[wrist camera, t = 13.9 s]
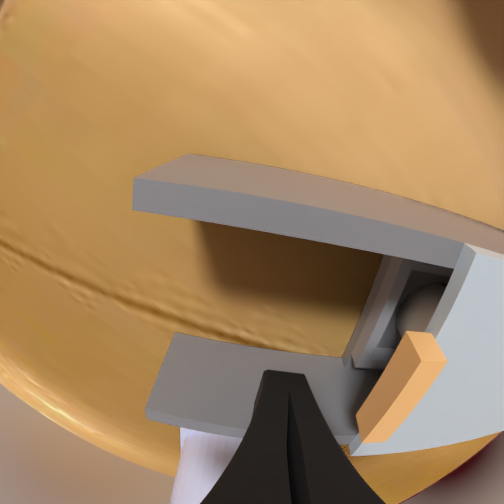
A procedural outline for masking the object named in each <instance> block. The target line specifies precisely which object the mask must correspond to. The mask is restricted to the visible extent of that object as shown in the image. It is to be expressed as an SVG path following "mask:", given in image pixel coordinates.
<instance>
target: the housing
mask: <svg viewBox="0 0 504 504" xmlns="http://www.w3.org/2000/svg"><path fill="white" fill-rule="evenodd" d="M132 210H136V211H143V212H149V213H156V214H162V215H168V216H174V217H181V218H187V219H193V220H199V221H205V222H211V223H217V224H223V225H229V226H235V227H240V228H246V229H252V230H258V231H263V232H269V233H275V234H280V235H286V236H291V237H297V238H302V239H307V240H313V241H318V242H324V243H329V244H334V245H339V246H345V247H350V248H355V249H360V250H365V251H370V252H375V253H380V254H384V255H383V258H382V261H381V264H380V267H379V269H378V272H377V275H376V278H375V280H374V283H373V285H372V288H371V291H370V293H369V296H368V298H367V301H366V303H365V306H364V308H363V311H362V313H361V316H360V318H359V320H358V323H357V325H356V327H355V330H354V332H353V334H352V336H351V339H350V341H349V343H348V345H347V348H346V350H345V352H344V354H343V356H342V358H339V357H329V356H319V355H310V354H301V353H293V352H285V351H278V350H271V349H264V348H257V347H251V346H245V345H239V344H233V343H227V342H221V341H216V340H211V339H205V338H200V337H195V336H190V335H186V334H181V333H176V332H175V334H174V336H173V339H172V341H171V344H170V346H169V348H168V351H167V353H166V356H165V358H164V361H163V363H162V366H161V368H160V371H159V374H158V376H157V379H156V381H155V384H154V386H153V389H152V391H151V394H150V397H149V399H148V402H147V405H146V407H145V412H146V417H147V419H149V420H153V421H157V422H161V423H165V424H169V425H173V426H177V427H182V428H186V429H191V430H196V431H201V432H206V433H212V434H217V435H223V436H230V437H236V438H243V437H244V435H245V433H246V431H247V429H248V427H249V424H250V422H251V419H252V414H253V408H254V402H255V399H256V395H257V392H258V389H259V385H260V382H261V379H262V375H263V372H264V371H265V370H268V369H269V370H276V371H284V372H292V373H301V374H304V375H305V376H306V378H307V381H308V383H309V386H310V388H311V391H312V393H313V395H314V398H315V400H316V402H317V404H318V406H319V409H320V411H321V413H322V415H323V417H324V419H325V420H326V422H327V424H328V426H329V428H330V430H331V432H332V434H333V435H334V437H335V439H336V441H337V442H338V444H339V445H349V444H350V443H351V441H352V440H353V439H354V438H355V436H356V435H357V434H358V433H359V428H358V423H357V419H356V414H357V412H358V411H359V409H360V408H361V406H362V405H363V403H364V402H365V400H366V399H367V397H368V396H369V394H370V393H371V391H372V389H373V388H374V386H375V385H376V383H377V381H378V380H379V378H380V377H381V375H382V373H383V372H384V370H385V368H386V366H387V365H388V363H389V361H390V359H391V358H392V356H393V354H394V352H395V351H396V349H397V347H398V345H399V343H400V341H401V339H402V337H401V335H400V333H399V331H398V329H397V326H396V314H397V311H398V308H399V306H400V304H401V303H402V301H403V300H404V299H405V298H406V297H407V295H408V294H410V293H411V292H412V291H413V290H415V289H416V288H418V287H420V286H422V285H424V284H427V283H440V284H443V285H445V286H446V287H447V285H448V282H449V280H450V278H451V276H452V273H453V271H454V268H455V266H456V264H457V261H458V259H459V256H460V253H461V251H462V248H463V246H464V243H466V244H470V245H473V246H477V247H480V248H483V249H487V250H490V251H493V252H497V253H500V254H503V255H504V230H501V229H499V228H496V227H493V226H491V225H488V224H485V223H482V222H480V221H477V220H474V219H471V218H468V217H465V216H462V215H460V214H457V213H454V212H450V211H447V210H444V209H441V208H438V207H435V206H432V205H428V204H425V203H422V202H419V201H415V200H412V199H408V198H405V197H401V196H398V195H394V194H391V193H387V192H383V191H379V190H376V189H372V188H368V187H364V186H360V185H356V184H352V183H348V182H343V181H339V180H335V179H330V178H326V177H321V176H317V175H312V174H307V173H302V172H298V171H293V170H287V169H282V168H277V167H271V166H266V165H260V164H254V163H248V162H242V161H236V160H230V159H223V158H216V157H209V156H201V155H194V154H186V155H184V156H181V157H179V158H177V159H174V160H172V161H170V162H167V163H165V164H163V165H161V166H158V167H156V168H154V169H152V170H150V171H147V172H145V173H143V174H141V175H139V176H137V177H135V178H134V184H133V206H132Z"/></svg>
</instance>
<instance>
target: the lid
mask: <svg viewBox="0 0 504 504" xmlns="http://www.w3.org/2000/svg"><path fill="white" fill-rule="evenodd" d="M356 419H357V423H358V428H359V433H358V434H357V435H356V436H355V438H354V439H353V440H352V441H351V443H350V444H349V448H350V454H351V456H364V455H379V454H390V453H399V452H408V451H415V450H422V449H428V448H434V447H439V446H445V445H450V444H454V443H459V442H463V441H468V440H472V439H476V438H479V437H483V436H487V435H490V434H494V433H497V432H500V431H504V255H503V254H500V253H497V252H493V251H490V250H487V249H483V248H480V247H477V246H473V245H470V244H466V243H464V246H463V248H462V251H461V253H460V256H459V259H458V261H457V264H456V266H455V268H454V271H453V273H452V276H451V278H450V280H449V282H448V285H447V287H446V289H445V291H444V294H443V296H442V298H441V300H440V302H439V304H438V306H437V308H436V310H435V312H434V314H433V316H432V318H431V320H430V322H429V324H428V326H427V328H426V330H425V332H414V331H406V332H405V334H404V336H403V338H402V339H401V341H400V343H399V345H398V347H397V349H396V351H395V352H394V354H393V356H392V358H391V359H390V361H389V363H388V365H387V366H386V368H385V370H384V372H383V373H382V375H381V377H380V378H379V380H378V381H377V383H376V385H375V386H374V388H373V389H372V391H371V393H370V394H369V396H368V397H367V399H366V400H365V402H364V403H363V405H362V406H361V408H360V409H359V411H358V412H357V414H356Z"/></svg>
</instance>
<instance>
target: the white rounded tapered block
mask: <svg viewBox="0 0 504 504" xmlns="http://www.w3.org/2000/svg"><path fill="white" fill-rule="evenodd" d="M445 289H446V286H445V285H443V284H440V283H427V284H424V285H422V286H420V287H418V288H416V289H415V290H413V291H412V292H411V293H410V294H408V295H407V297H406V298H405V299H404V300H403V301H402V303H401V304H400V306H399V308H398V311H397V314H396V326H397V329H398V331H399V333H400V335H401V337H402V338H403V336H404V334H405V332H406V331H414V332H425V330H426V328H427V326H428V324H429V322H430V320H431V318H432V316H433V314H434V312H435V310H436V308H437V306H438V304H439V302H440V300H441V298H442V296H443V294H444V291H445Z"/></svg>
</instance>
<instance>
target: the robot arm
mask: <svg viewBox="0 0 504 504" xmlns="http://www.w3.org/2000/svg"><path fill="white" fill-rule="evenodd" d="M180 440H181V456H180V461H179V465H178V469H177V473H176V478H175V482H174V486H173V491H172V495H171V499H170V504H386V503H385V502H384V501H383V500H382V499H381V498H380V497H379V496H378V495H377V494H376V493H375V492H374V491H373V490H372V489H371V488H370V487H369V485H368V484H367V483H366V482H365V481H364V479H363V478H362V477H361V476H360V474H359V473H358V472H357V471H356V469H355V468H354V466H353V465H352V464H351V462H350V461H349V459H348V458H347V456H346V455H345V453H344V452H343V450H342V449H341V447H340V445H339V444H338V442H337V441H336V439H335V437H334V435H333V434H332V432H331V430H330V428H329V426H328V424H327V422H326V420H325V419H324V417H323V415H322V413H321V411H320V409H319V406H318V404H317V402H316V400H315V398H314V395H313V393H312V391H311V388H310V386H309V383H308V381H307V378H306V376H305V375H304V374H301V373H292V372H284V371H276V370H269V369H268V370H265V371H264V372H263V375H262V379H261V382H260V385H259V389H258V392H257V395H256V399H255V402H254V408H253V414H252V419H251V422H250V424H249V427H248V429H247V431H246V433H245V435H244V437H243V438H236V437H230V436H223V435H217V434H212V433H206V432H201V431H196V430H191V429H186V428H182V427H180Z"/></svg>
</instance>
